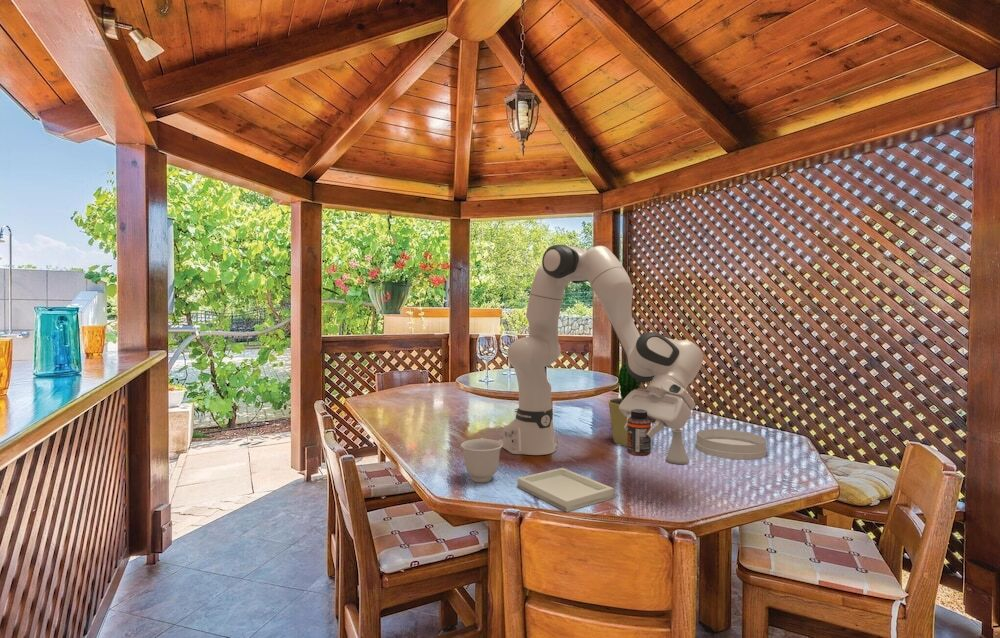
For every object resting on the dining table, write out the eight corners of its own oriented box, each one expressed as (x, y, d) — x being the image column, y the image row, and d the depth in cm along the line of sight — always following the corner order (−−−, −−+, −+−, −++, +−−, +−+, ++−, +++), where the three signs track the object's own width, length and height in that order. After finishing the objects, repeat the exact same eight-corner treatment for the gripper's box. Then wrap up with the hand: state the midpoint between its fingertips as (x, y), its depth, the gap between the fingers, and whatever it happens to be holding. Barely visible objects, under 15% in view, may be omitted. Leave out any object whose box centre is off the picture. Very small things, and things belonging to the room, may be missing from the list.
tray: (517, 487, 137) (517, 477, 137) (562, 476, 146) (562, 467, 146) (566, 511, 121) (566, 501, 121) (613, 498, 129) (613, 488, 129)
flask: (691, 465, 157) (691, 433, 156) (666, 464, 158) (666, 432, 158) (687, 458, 164) (687, 428, 163) (663, 457, 165) (664, 426, 165)
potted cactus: (631, 450, 173) (632, 362, 172) (599, 440, 186) (599, 359, 185) (661, 443, 181) (662, 360, 181) (628, 434, 194) (629, 356, 194)
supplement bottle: (623, 450, 134) (624, 408, 134) (645, 450, 135) (645, 407, 135) (631, 457, 128) (631, 412, 128) (654, 456, 129) (654, 412, 129)
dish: (683, 450, 175) (683, 435, 174) (713, 439, 189) (713, 425, 189) (750, 465, 158) (750, 449, 158) (777, 452, 173) (777, 437, 173)
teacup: (502, 469, 153) (502, 436, 152) (503, 486, 138) (503, 450, 137) (462, 469, 152) (462, 436, 152) (459, 486, 137) (459, 450, 137)
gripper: (630, 379, 144) (603, 417, 139) (689, 390, 126) (661, 433, 121) (641, 394, 146) (615, 431, 141) (701, 406, 128) (674, 449, 123)
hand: (637, 433), depth 131 cm, fingers closed on supplement bottle, 6 cm apart
